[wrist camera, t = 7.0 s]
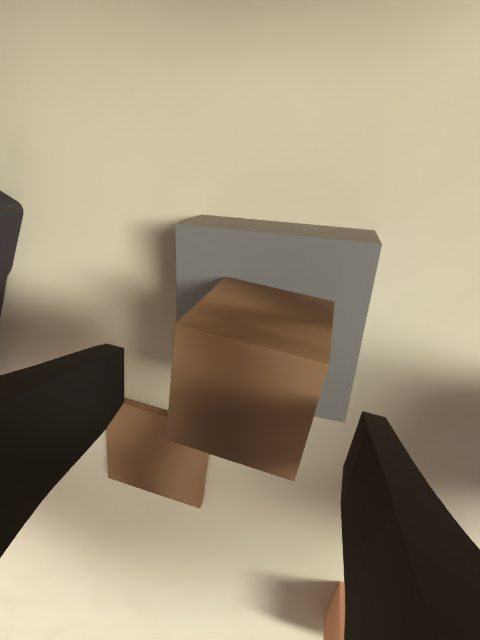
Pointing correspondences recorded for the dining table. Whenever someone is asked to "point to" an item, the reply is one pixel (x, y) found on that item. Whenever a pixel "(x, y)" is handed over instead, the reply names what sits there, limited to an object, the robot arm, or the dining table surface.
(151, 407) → the tile
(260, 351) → the walnut block
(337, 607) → the terracotta block
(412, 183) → the dining table surface
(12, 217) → the black and red box
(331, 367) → the base block
